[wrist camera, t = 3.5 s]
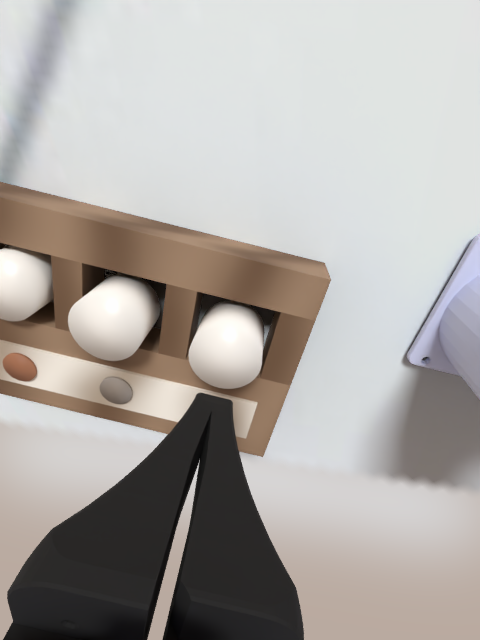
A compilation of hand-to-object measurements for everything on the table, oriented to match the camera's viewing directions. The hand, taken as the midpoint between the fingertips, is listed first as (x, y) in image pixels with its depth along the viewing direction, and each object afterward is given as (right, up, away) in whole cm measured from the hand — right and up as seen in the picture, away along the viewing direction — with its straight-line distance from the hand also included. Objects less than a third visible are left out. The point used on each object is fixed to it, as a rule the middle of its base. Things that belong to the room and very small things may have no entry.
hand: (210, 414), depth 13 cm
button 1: (-11, +7, +7) cm, 14 cm away
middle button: (-5, +5, +6) cm, 9 cm away
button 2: (+1, +3, +6) cm, 7 cm away
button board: (-5, +4, +8) cm, 10 cm away
